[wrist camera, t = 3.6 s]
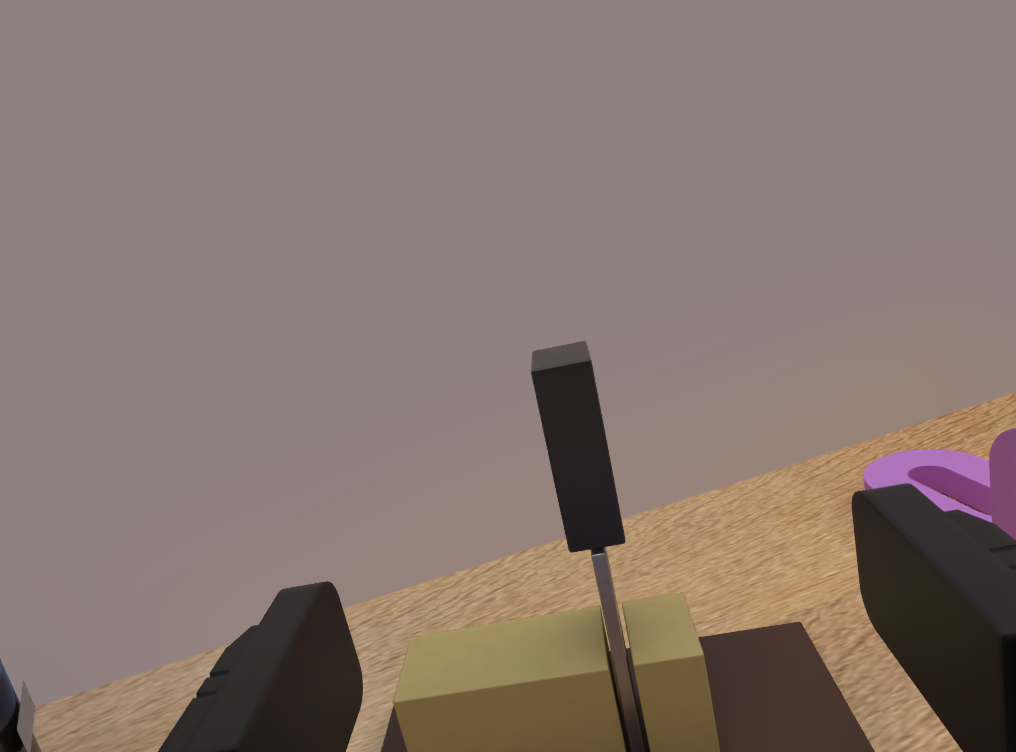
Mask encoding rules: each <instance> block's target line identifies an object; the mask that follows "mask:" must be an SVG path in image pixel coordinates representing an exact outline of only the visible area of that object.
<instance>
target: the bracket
mask: <svg viewBox="0 0 1016 752" xmlns="http://www.w3.org/2000/svg"><path fill="white" fill-rule="evenodd" d="M904 483H910V484H912V485H913V486H915V487H916V488H917V489H918V490H919V491H921V492H922V493H923V494H924V495H925V496H926V497H928V498H929V499H930V500H931V501H932V502H933V503H935V504H936V505H937V506H938V507H939V508H940V509H942V510H943V511H944V512H945V511H951V510H957V509H958V510H961V511H963V512H966V513H969V514H971V515H974V516H976V517H979V518H981V519H984V520H986V521H989V522H992V523H994V524H996V525H997V526H998V527H999V528H1001V529H1002V530H1003V531H1005V532H1006V533H1007V534H1008V535H1010V536H1011V537H1012V538H1013V539H1015V540H1016V428H1013V429H1010V430H1007V431H1005V432H1003V433H1001V434H1000V435H999V436H998V437H997V438H996V439H995V441H994V443H993V444H992V447H991V450H990V455H989V460H986V459H984V458H981V457H978V456H975V455H972V454H967V453H963V452H957V451H949V450H932V449H929V450H911V451H904V452H898V453H894V454H890V455H887V456H884V457H881V458H879V459H877V460H875V461H873V462H872V463H871V464H869V465H868V466H867V467H866V469H865V471H864V485H865V490H869V489H875V488H880V487H886V486H892V485H898V484H904ZM941 493H942V494H941ZM943 494H946V495H949V496H951V497H953V498H955V499H957V500H959V501H961V502H963V503H965V504H967V505H969V506H971V507H973V508H975V509H977V510H979V511H981V512H983V513H986V514H988V515H986V514H983V513H980V512H977V511H975V510H973V509H971V508H969V507H967V506H965V505H963V504H961V503H959V502H957V501H955V500H953V499H951V498H949V497H947V496H945V495H943Z"/></svg>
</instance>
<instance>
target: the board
mask: <svg viewBox="0 0 1016 752" xmlns="http://www.w3.org/2000/svg"><path fill="white" fill-rule="evenodd" d="M698 638H699V641H700V644H701V647H702V650H703V653H704V658H705V664H706V670H707V676H708V682H709V688H710V694H711V700H712V706H713V712H714V718H715V724H716V730H717V736H718V742H719V748H720V752H875V751H874V750H873V748H872V746H871V744H870V743H869V741H868V739H867V737H866V736H865V734H864V732H863V730H862V729H861V727H860V725H859V723H858V722H857V720H856V718H855V716H854V715H853V713H852V711H851V709H850V708H849V706H848V704H847V702H846V701H845V699H844V697H843V695H842V694H841V692H840V690H839V688H838V687H837V685H836V683H835V681H834V680H833V678H832V676H831V674H830V673H829V671H828V669H827V667H826V665H825V664H824V662H823V660H822V658H821V657H820V655H819V653H818V651H817V650H816V648H815V646H814V644H813V643H812V641H811V639H810V637H809V636H808V634H807V632H806V630H805V629H804V627H803V625H802V623H801V622H794V623H788V624H781V625H775V626H769V627H762V628H756V629H749V630H743V631H736V632H730V633H724V634H717V635H711V636H704V637H698ZM626 651H627V656H628V661H629V666H630V671H631V677H632V682H633V687H634V692H635V697H636V702H637V708H638V714H639V719H640V725H641V730H642V736H643V742H644V747H645V752H650V748H649V743H648V738H647V733H646V727H645V722H644V717H643V712H642V707H641V702H640V697H639V692H638V687H637V682H636V676H635V671H634V666H633V661H632V656H631V650H630V648H627V649H626ZM610 656H611V661H612V666H613V670H614V675H615V680H616V685H617V690H618V695H619V702H620V709H621V716H622V722H623V729H624V736H625V743H626V750H627V752H631V747H630V742H629V737H628V733H627V728H626V723H625V718H624V713H623V708H622V703H621V698H620V693H619V688H618V684H617V679H616V674H615V669H614V664H613V659H612V654H611V651H610ZM381 752H408V751H407V748H406V745H405V741H404V738H403V735H402V731H401V728H400V725H399V721H398V718H397V715H396V711H395V708H394V706H393V710H392V713H391V717H390V721H389V724H388V728H387V732H386V735H385V739H384V743H383V746H382V750H381Z"/></svg>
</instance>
